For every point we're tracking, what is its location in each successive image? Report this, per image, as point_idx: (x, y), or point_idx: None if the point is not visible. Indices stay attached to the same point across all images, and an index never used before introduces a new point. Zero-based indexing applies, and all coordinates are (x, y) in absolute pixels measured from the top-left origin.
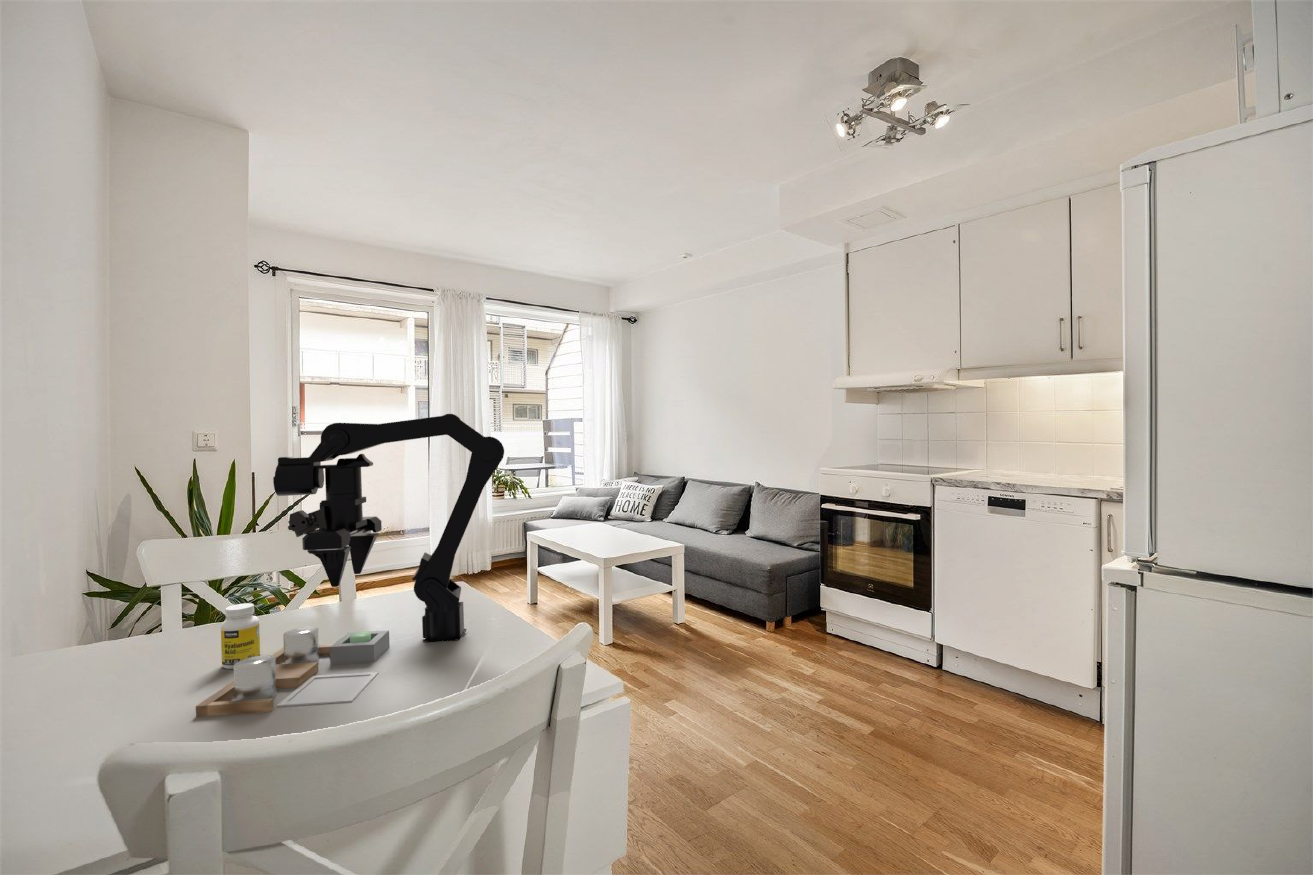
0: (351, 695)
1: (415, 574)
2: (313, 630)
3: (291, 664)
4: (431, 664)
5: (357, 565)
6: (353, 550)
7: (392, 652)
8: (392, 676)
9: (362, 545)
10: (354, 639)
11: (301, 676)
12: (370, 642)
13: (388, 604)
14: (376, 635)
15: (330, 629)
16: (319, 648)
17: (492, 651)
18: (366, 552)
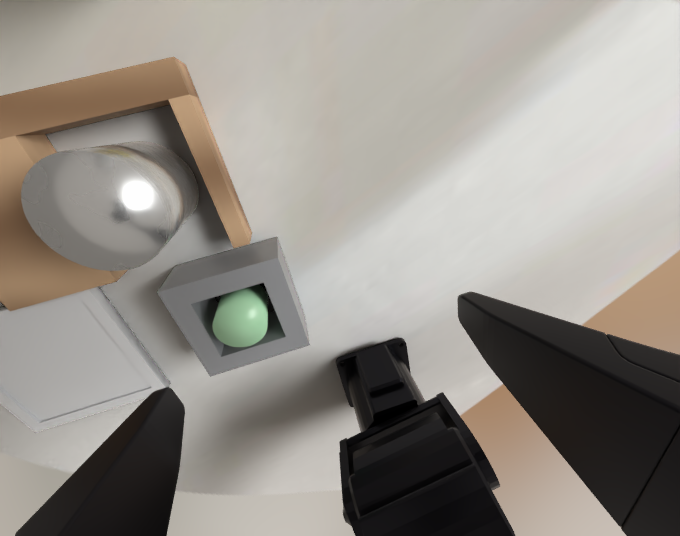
0: (51, 420)
1: (394, 522)
2: (130, 254)
3: None
4: (250, 418)
5: (492, 341)
6: (616, 410)
7: None
8: (182, 399)
9: (653, 505)
10: (213, 328)
11: (25, 306)
12: (220, 361)
13: (670, 74)
14: (269, 343)
15: (459, 26)
16: (213, 199)
17: (319, 456)
18: (569, 456)
